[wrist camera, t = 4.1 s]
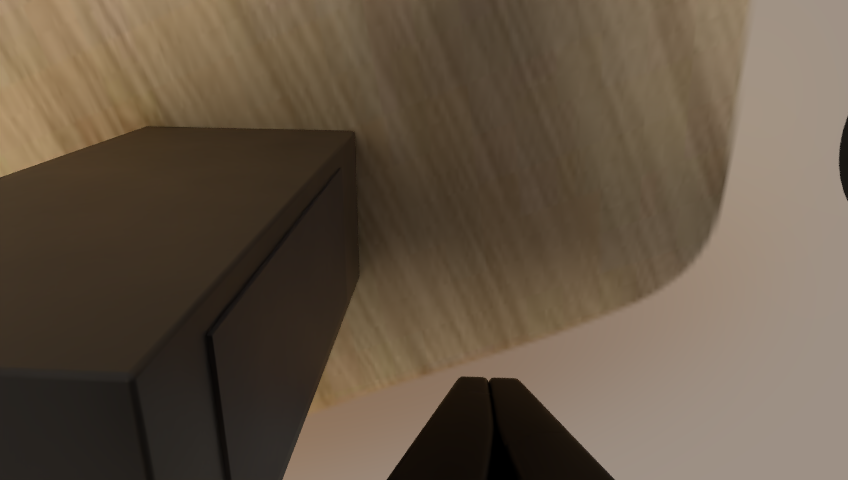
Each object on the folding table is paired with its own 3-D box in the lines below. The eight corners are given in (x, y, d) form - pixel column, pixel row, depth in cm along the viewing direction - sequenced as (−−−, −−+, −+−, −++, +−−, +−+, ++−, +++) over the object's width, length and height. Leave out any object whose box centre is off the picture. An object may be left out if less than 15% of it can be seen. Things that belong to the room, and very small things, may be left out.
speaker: (357, 130, 16) (139, 376, 5) (362, 277, 18) (202, 712, 7) (144, 126, 17) (-506, 350, 5) (167, 271, 18) (-297, 677, 7)
